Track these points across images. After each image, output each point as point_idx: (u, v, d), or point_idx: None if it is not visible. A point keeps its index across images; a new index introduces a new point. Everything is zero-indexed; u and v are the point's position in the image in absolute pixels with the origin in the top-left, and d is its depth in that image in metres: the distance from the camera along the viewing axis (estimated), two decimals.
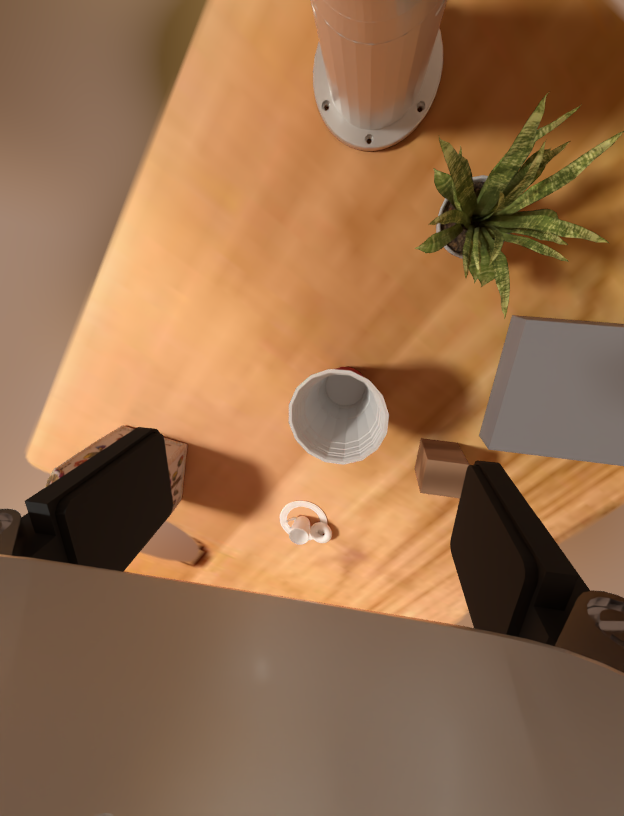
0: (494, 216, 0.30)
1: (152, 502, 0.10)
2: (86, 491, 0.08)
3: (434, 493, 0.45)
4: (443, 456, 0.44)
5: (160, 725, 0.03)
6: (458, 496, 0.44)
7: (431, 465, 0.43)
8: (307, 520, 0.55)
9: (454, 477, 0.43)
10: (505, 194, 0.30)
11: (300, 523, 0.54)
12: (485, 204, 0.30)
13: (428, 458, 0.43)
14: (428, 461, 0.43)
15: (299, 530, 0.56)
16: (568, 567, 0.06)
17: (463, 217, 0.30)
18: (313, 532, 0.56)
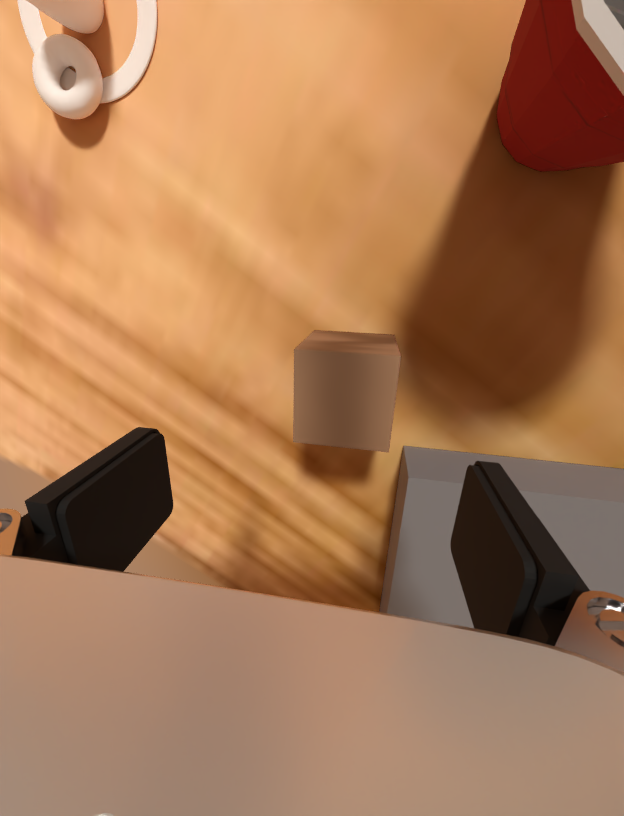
0: None
1: (152, 502, 0.10)
2: (86, 491, 0.08)
3: (297, 384, 0.17)
4: None
5: (160, 725, 0.03)
6: (297, 438, 0.18)
7: (382, 368, 0.16)
8: (92, 14, 0.17)
9: (349, 425, 0.17)
10: None
11: None
12: None
13: None
14: (394, 359, 0.16)
15: None
16: (568, 568, 0.06)
17: None
18: (59, 45, 0.18)
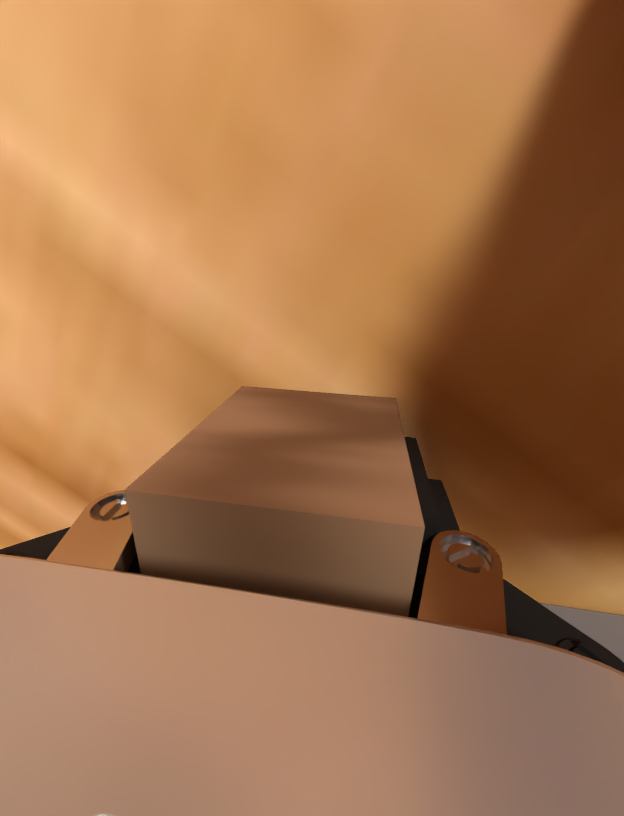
0: None
1: None
2: None
3: (149, 569, 0.07)
4: None
5: (160, 725, 0.03)
6: None
7: (370, 553, 0.06)
8: None
9: None
10: None
11: None
12: None
13: None
14: (405, 533, 0.05)
15: None
16: (433, 512, 0.07)
17: None
18: None
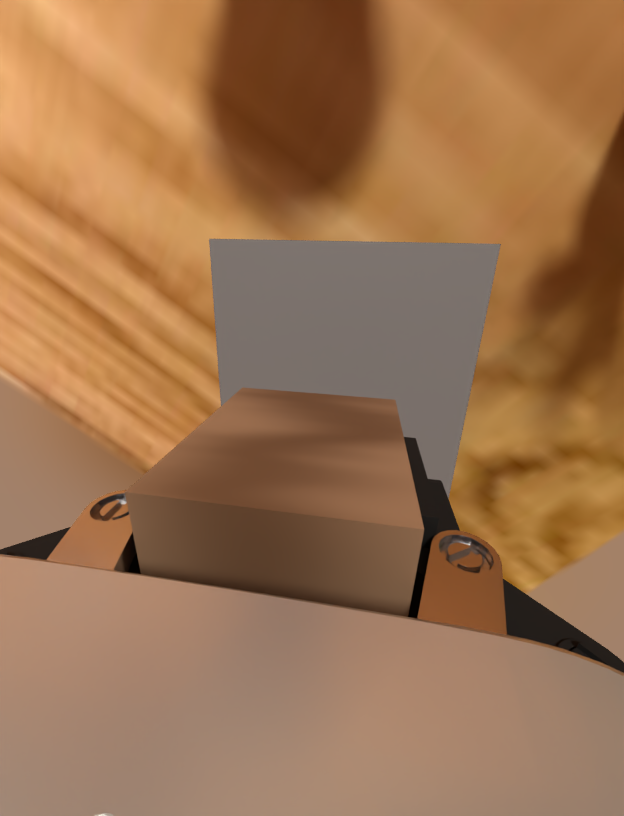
0: None
1: None
2: None
3: (149, 570, 0.07)
4: None
5: (159, 725, 0.03)
6: None
7: (369, 555, 0.06)
8: None
9: None
10: None
11: None
12: None
13: None
14: (404, 535, 0.05)
15: None
16: (432, 512, 0.07)
17: None
18: None
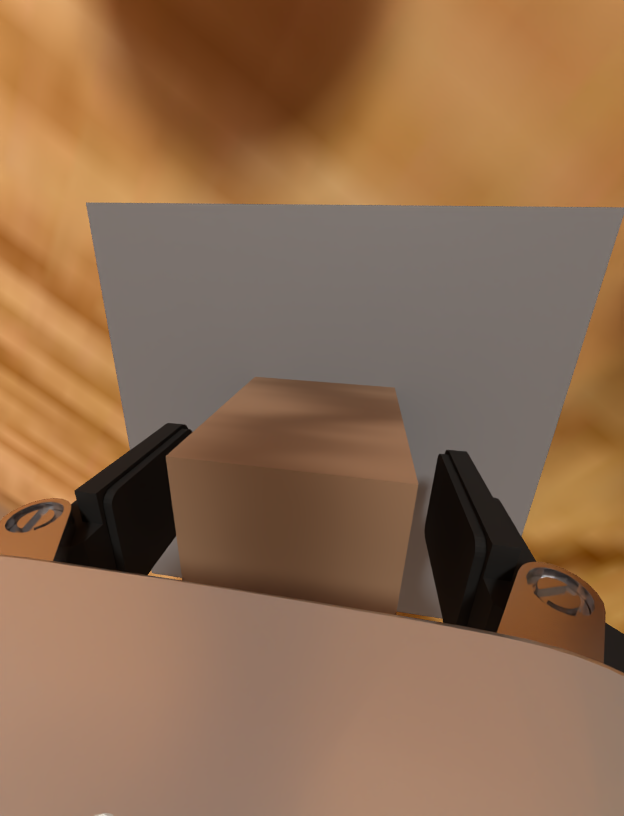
0: None
1: None
2: (128, 482, 0.08)
3: (183, 527, 0.08)
4: None
5: (160, 725, 0.03)
6: None
7: (372, 507, 0.07)
8: None
9: None
10: None
11: None
12: None
13: None
14: (402, 489, 0.06)
15: None
16: (513, 541, 0.06)
17: None
18: None
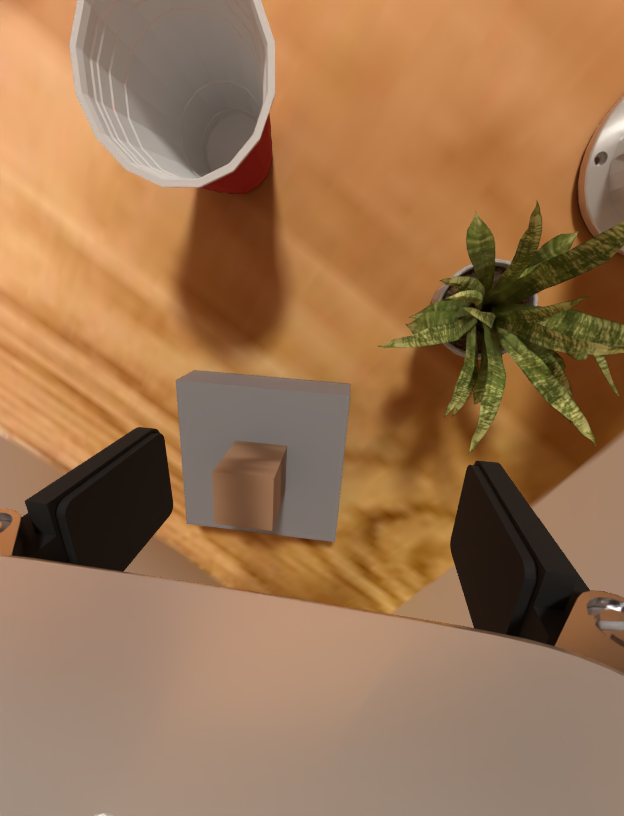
0: (494, 328, 0.23)
1: (152, 502, 0.10)
2: (86, 491, 0.08)
3: (215, 491, 0.28)
4: (276, 492, 0.29)
5: (160, 725, 0.03)
6: (216, 521, 0.29)
7: (264, 484, 0.27)
8: None
9: (247, 515, 0.28)
10: None
11: None
12: None
13: (274, 478, 0.27)
14: (270, 480, 0.27)
15: None
16: (568, 568, 0.06)
17: (507, 282, 0.21)
18: None
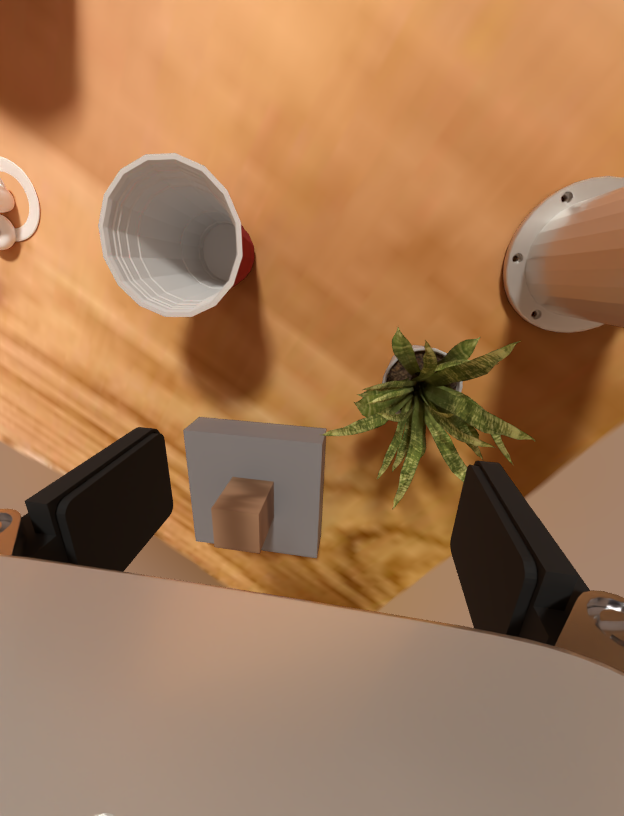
0: (423, 404, 0.29)
1: (152, 502, 0.10)
2: (86, 491, 0.08)
3: (214, 522, 0.36)
4: (262, 523, 0.36)
5: (160, 725, 0.03)
6: (216, 545, 0.37)
7: (251, 518, 0.35)
8: (7, 207, 0.36)
9: (240, 541, 0.36)
10: (442, 411, 0.30)
11: None
12: (435, 394, 0.29)
13: (259, 514, 0.35)
14: (256, 515, 0.34)
15: None
16: (568, 568, 0.06)
17: (426, 375, 0.27)
18: None
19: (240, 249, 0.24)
